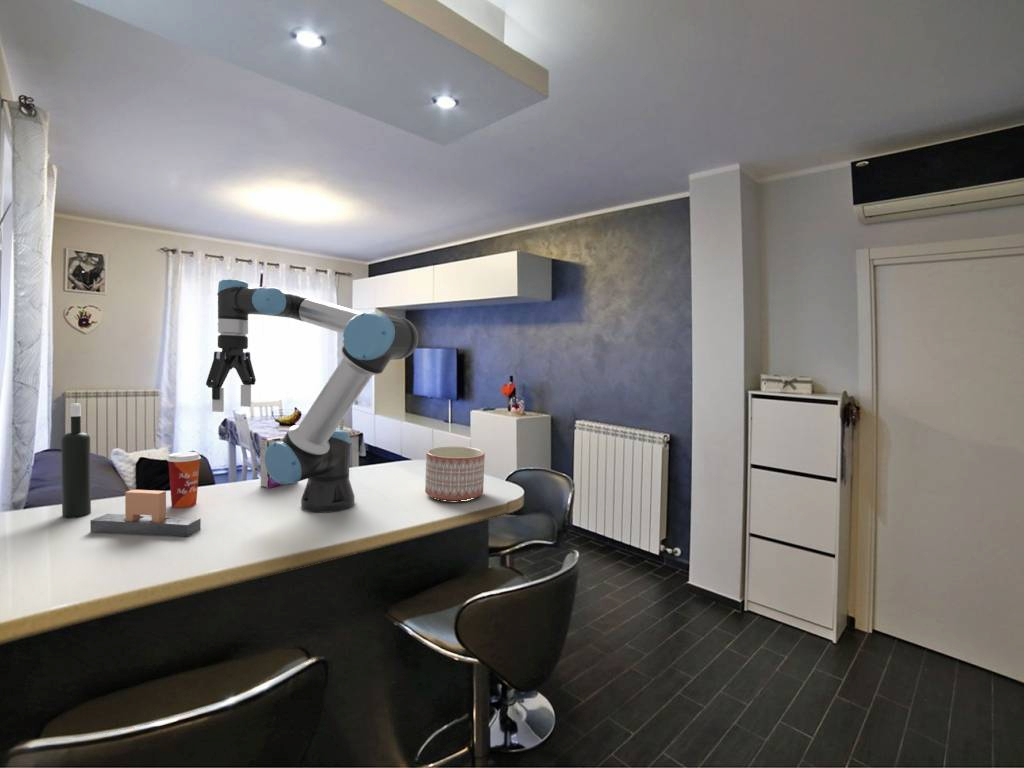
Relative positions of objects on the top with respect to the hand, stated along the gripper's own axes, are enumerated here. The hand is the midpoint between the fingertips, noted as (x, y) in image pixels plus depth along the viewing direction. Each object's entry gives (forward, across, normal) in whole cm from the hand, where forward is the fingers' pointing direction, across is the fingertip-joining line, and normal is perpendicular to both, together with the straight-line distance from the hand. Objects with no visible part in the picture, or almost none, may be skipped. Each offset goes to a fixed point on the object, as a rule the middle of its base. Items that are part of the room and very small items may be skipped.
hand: (232, 409), depth 142 cm
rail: (+29, +21, -9) cm, 37 cm away
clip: (+29, +21, -9) cm, 37 cm away
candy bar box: (+29, -26, +1) cm, 39 cm away
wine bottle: (+29, +12, -35) cm, 47 cm away
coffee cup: (+29, 0, -14) cm, 32 cm away
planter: (+29, -22, +62) cm, 72 cm away
